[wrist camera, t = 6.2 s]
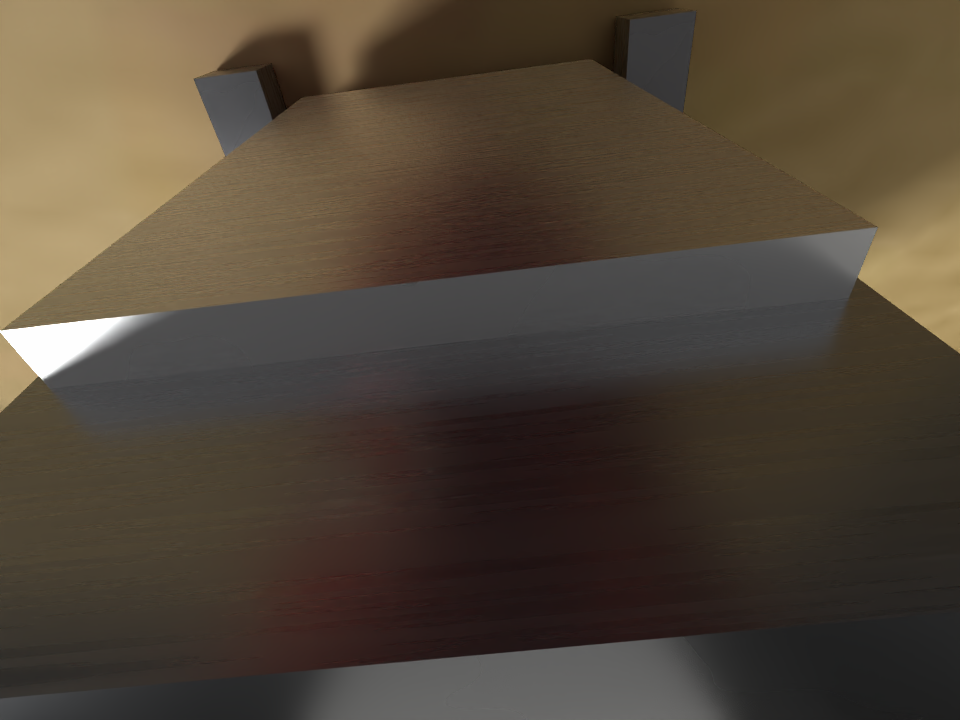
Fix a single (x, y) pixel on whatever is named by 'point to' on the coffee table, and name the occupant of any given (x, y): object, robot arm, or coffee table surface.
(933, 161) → the coffee table surface
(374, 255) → the grey stepped block
